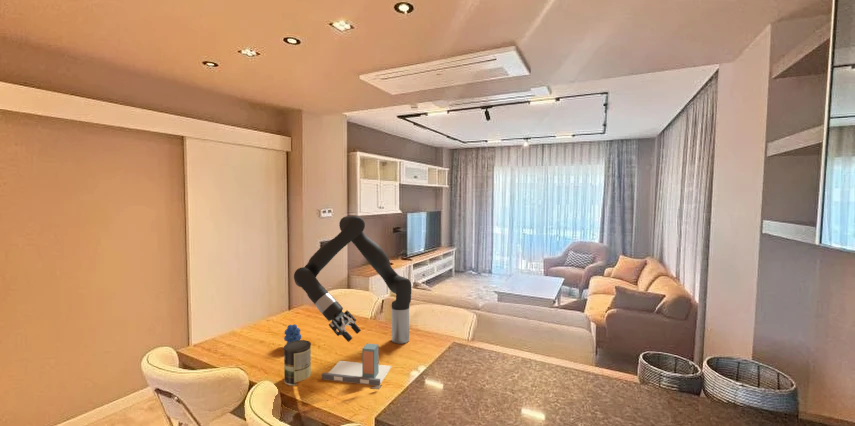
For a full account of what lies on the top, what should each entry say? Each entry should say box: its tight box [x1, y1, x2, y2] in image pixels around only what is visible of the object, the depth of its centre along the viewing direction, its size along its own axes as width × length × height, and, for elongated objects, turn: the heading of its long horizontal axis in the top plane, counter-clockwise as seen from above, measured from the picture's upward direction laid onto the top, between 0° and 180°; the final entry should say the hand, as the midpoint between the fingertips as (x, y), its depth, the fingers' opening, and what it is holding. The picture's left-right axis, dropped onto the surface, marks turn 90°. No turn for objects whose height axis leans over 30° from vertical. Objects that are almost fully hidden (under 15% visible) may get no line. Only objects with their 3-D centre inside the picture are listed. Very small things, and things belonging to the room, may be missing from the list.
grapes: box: [283, 323, 302, 344], centre depth 169 cm, size 12×7×12 cm, turn 59°
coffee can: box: [283, 339, 312, 387], centre depth 138 cm, size 10×10×14 cm
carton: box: [361, 343, 380, 378], centre depth 139 cm, size 5×5×12 cm
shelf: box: [321, 360, 393, 390], centre depth 141 cm, size 16×24×4 cm
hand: (355, 336), depth 139 cm, fingers open, 8 cm apart
